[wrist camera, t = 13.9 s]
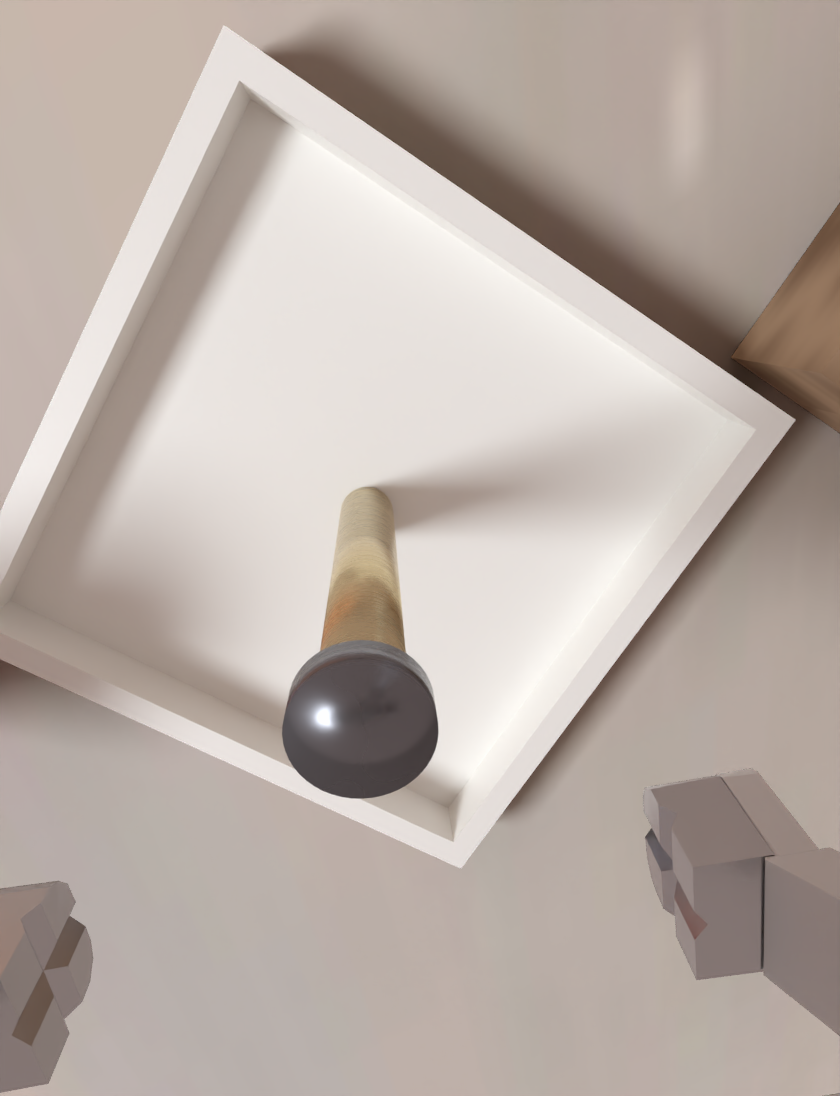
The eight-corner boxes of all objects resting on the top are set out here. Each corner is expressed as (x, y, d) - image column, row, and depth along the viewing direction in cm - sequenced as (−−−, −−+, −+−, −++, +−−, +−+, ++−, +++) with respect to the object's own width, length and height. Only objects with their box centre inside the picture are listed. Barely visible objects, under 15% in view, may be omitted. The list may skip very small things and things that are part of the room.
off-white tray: (240, 56, 24) (223, 24, 21) (754, 407, 29) (795, 419, 26) (-15, 601, 30) (-56, 633, 27) (453, 821, 34) (460, 868, 31)
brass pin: (352, 459, 28) (330, 637, 14) (421, 498, 28) (467, 707, 14) (313, 526, 29) (254, 759, 14) (381, 562, 29) (388, 821, 15)
